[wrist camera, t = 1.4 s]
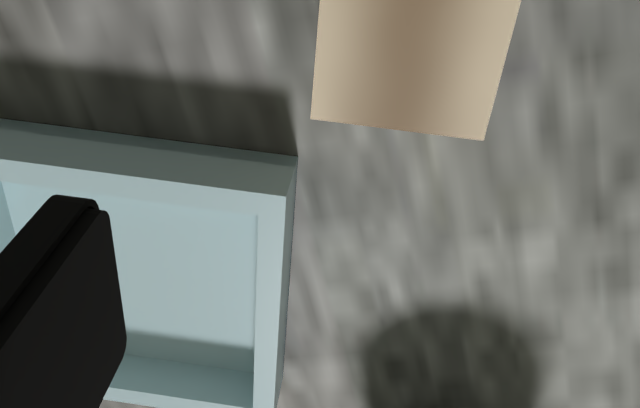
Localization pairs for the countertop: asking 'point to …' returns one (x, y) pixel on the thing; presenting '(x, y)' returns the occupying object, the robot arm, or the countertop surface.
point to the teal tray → (175, 254)
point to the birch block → (411, 63)
